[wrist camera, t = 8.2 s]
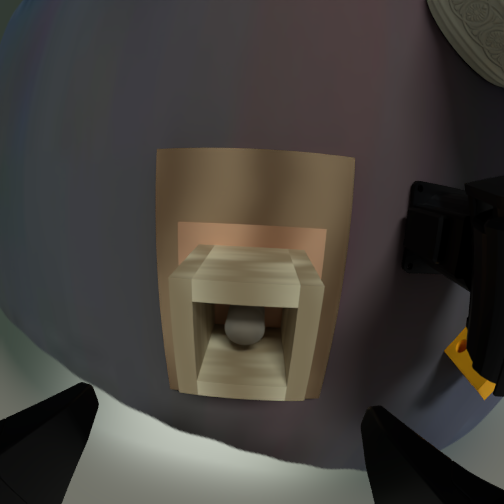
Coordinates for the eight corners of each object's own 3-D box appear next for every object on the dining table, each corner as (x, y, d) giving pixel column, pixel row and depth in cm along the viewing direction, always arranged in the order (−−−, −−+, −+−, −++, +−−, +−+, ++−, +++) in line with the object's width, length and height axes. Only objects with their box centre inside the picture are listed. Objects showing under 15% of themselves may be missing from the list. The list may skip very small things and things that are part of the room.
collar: (304, 249, 17) (324, 286, 11) (293, 340, 19) (303, 400, 13) (198, 244, 17) (168, 277, 11) (200, 335, 19) (179, 392, 13)
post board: (349, 159, 17) (383, 152, 11) (316, 388, 21) (327, 437, 16) (163, 150, 17) (125, 142, 12) (174, 379, 22) (155, 425, 16)
